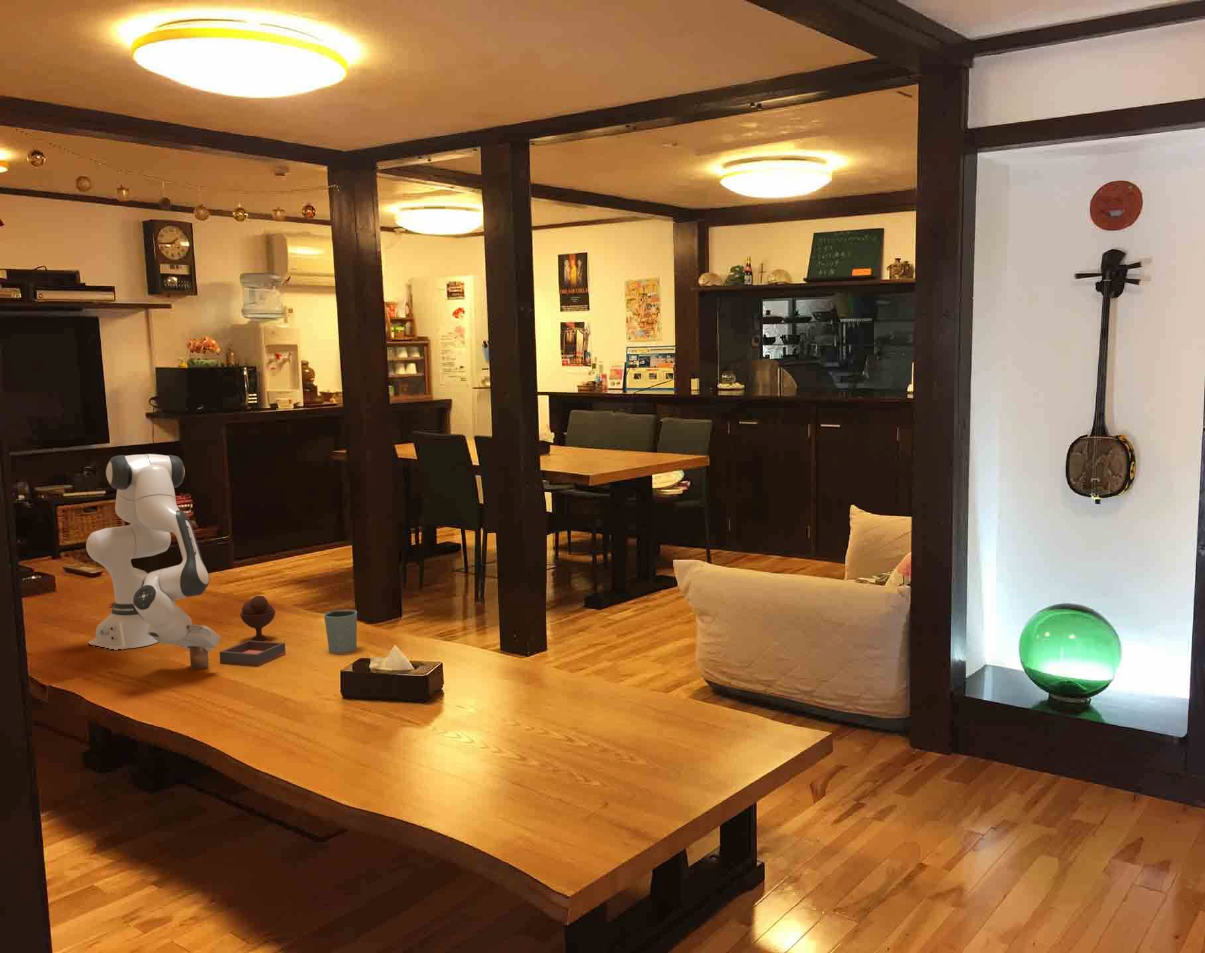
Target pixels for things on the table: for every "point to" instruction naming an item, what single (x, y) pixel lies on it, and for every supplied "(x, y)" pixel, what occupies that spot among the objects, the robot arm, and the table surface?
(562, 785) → the table surface
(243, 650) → the lacquer tray
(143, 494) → the robot arm
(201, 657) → the tea canister
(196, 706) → the table surface
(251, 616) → the ice cream bowl
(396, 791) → the table surface
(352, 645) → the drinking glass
